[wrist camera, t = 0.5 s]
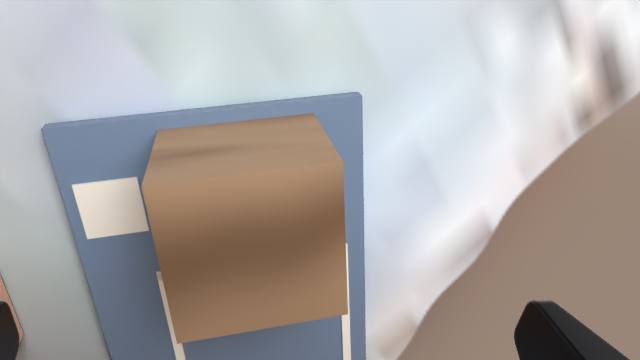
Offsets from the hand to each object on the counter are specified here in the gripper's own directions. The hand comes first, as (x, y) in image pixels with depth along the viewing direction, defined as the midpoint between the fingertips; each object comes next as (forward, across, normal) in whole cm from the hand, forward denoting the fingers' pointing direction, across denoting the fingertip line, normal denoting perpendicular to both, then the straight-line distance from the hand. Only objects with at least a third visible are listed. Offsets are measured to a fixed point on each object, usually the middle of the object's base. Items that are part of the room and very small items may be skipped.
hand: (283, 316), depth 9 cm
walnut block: (+11, +1, +5) cm, 12 cm away
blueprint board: (+11, +1, +11) cm, 15 cm away
